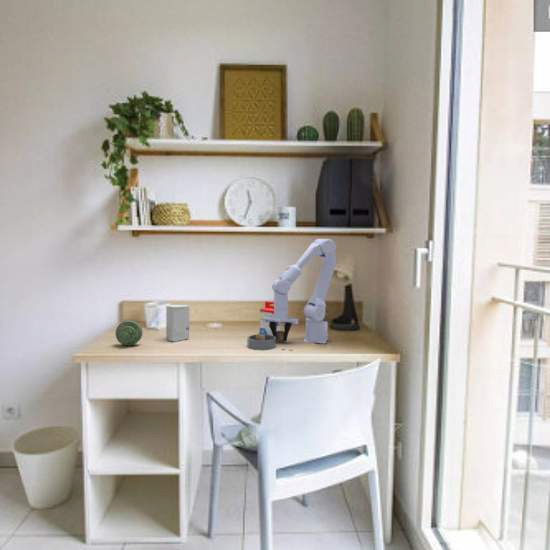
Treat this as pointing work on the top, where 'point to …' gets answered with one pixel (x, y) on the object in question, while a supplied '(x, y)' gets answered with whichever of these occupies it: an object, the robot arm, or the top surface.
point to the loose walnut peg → (280, 336)
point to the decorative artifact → (129, 332)
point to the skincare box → (177, 322)
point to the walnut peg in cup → (260, 337)
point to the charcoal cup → (261, 342)
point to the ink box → (267, 312)
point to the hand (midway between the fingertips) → (280, 340)
